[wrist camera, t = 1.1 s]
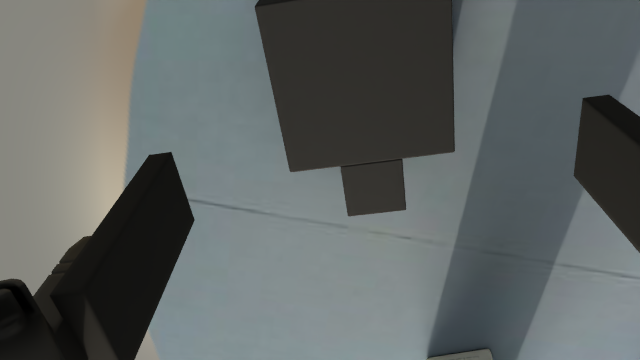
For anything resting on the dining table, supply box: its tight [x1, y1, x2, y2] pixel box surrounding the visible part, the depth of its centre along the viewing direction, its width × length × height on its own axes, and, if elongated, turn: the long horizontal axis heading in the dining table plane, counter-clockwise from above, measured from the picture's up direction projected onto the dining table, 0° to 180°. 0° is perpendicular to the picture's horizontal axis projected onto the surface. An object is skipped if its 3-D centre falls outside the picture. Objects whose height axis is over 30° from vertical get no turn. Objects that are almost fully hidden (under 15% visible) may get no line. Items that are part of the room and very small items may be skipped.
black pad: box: [255, 0, 455, 216], centre depth 24 cm, size 8×11×4 cm
